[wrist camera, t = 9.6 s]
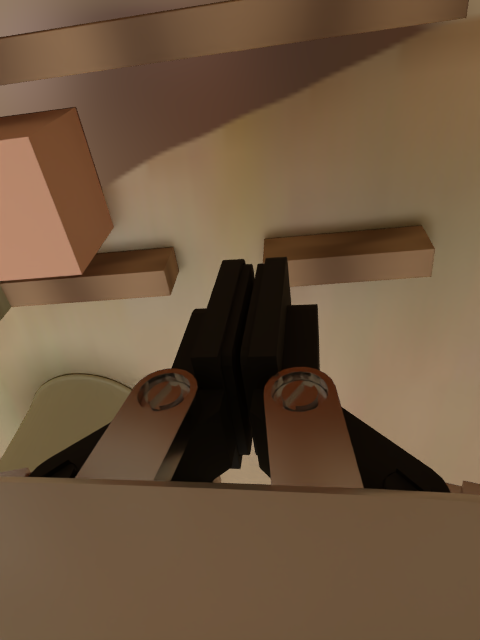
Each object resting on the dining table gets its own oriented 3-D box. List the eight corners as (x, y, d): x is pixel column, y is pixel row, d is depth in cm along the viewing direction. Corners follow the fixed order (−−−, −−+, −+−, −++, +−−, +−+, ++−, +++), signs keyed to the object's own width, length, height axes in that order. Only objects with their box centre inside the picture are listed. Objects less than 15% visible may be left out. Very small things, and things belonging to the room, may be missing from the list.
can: (60, 457, 37) (-15, 623, 28) (12, 376, 32) (-102, 546, 22) (169, 455, 36) (129, 627, 27) (138, 369, 31) (74, 547, 21)
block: (76, 106, 21) (27, 136, 17) (114, 226, 25) (82, 274, 21) (-42, 122, 22) (-114, 154, 18) (11, 236, 25) (-39, 284, 21)
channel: (450, -35, 17) (490, -38, 14) (418, 251, 24) (440, 293, 21) (-110, 54, 20) (-183, 69, 17) (8, 284, 27) (-29, 325, 24)
